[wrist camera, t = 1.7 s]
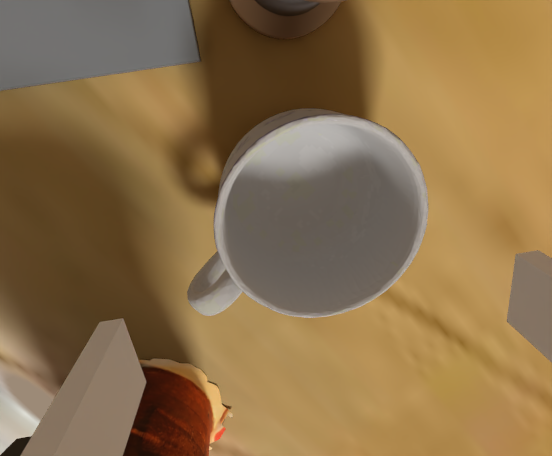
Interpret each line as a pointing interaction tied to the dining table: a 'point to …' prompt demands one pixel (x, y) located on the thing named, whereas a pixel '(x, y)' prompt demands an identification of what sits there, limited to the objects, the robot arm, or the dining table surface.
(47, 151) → the dining table surface
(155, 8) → the pad
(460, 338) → the dining table surface
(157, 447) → the vessel
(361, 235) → the teacup
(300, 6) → the brown rounded upright piece
